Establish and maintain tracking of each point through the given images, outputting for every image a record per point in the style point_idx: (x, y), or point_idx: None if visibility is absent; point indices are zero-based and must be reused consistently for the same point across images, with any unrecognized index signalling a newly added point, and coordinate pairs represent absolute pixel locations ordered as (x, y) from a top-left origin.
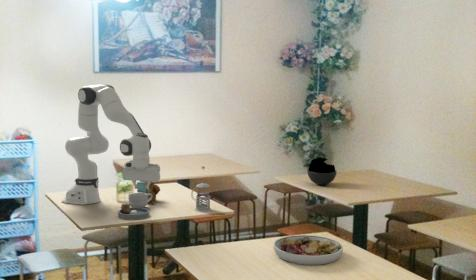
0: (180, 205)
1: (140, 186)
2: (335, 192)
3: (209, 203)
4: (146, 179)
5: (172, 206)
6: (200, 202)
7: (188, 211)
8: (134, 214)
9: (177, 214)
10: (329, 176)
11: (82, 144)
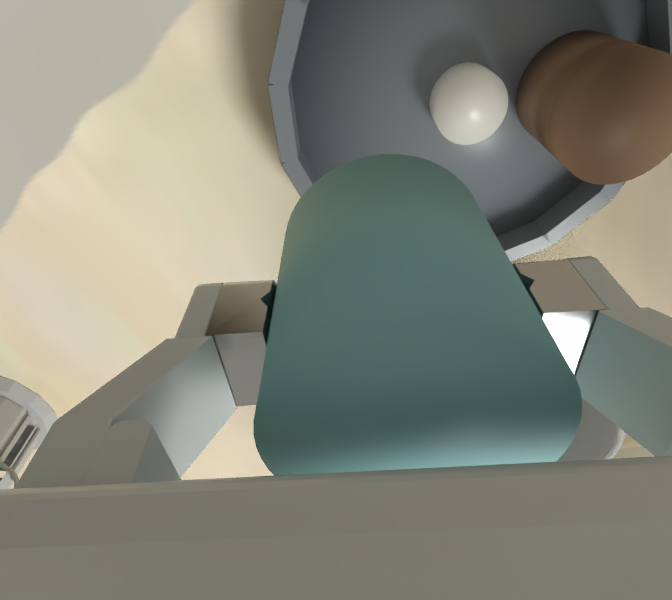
0: (205, 454)
1: (389, 242)
2: None
3: None
4: (44, 562)
5: (242, 428)
6: None
7: (45, 354)
8: (444, 63)
9: (55, 256)
10: None
11: None
